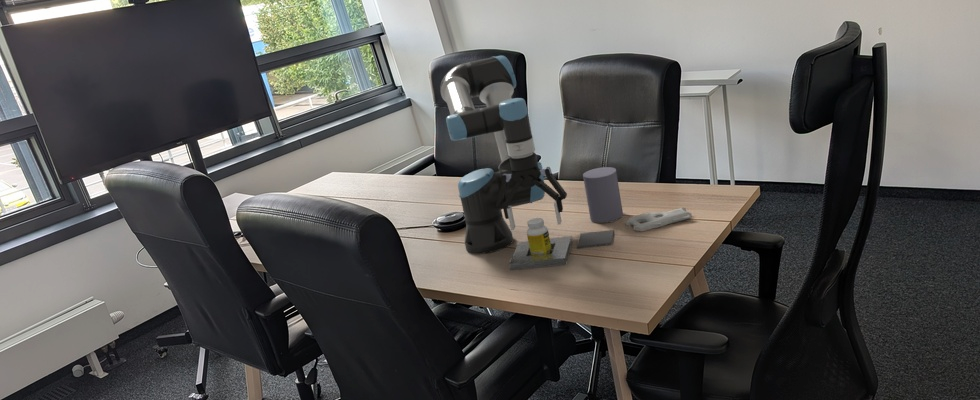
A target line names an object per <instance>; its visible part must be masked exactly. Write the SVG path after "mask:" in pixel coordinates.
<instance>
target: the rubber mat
mask: <svg viewBox="0 0 980 400" xmlns="http://www.w3.org/2000/svg"><path fill="white" fill-rule="evenodd" d="M614 233H615V230H614V229H610V230H609V229H608V230H600V231H591V232H582V233H580V234H579V237H578V241H577V245H576V249H584V248H594V247H603V246H613V239H614V235H615V234H614Z"/></svg>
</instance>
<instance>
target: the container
mask: <svg viewBox="0 0 980 400" xmlns="http://www.w3.org/2000/svg"><path fill="white" fill-rule="evenodd" d="M582 178H583V183H584V190H585V194H586V200H587V201H586V202H587V206H588V212H589V218H590V221H591V222H594V223H596V224H597V223H598V224H606V223H612V222H615V221H618V220H619V219H621V218H622V217H623V216H624V211H623V205H622V199H621V193H620V186H619V182H618V181H619V180H618V173H617V169H616V168H615V167H612V166H611V167H610V166H609V167H608V166H603V167H596V168H593V169H590V170H587V171H585V172H584V173H582Z"/></svg>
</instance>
